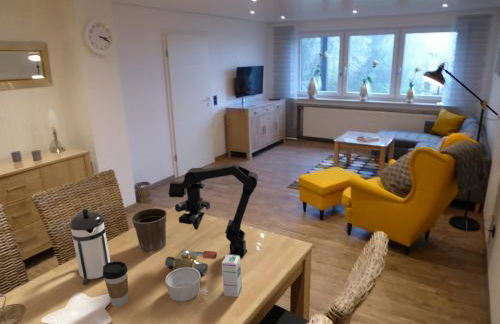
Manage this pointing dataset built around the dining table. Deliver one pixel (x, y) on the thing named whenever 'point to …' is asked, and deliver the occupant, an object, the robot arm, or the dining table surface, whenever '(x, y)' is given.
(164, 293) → the dining table surface
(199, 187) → the robot arm
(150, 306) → the dining table surface
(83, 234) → the coffee press
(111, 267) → the coffee cup
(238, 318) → the dining table surface
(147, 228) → the plant pot
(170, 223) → the dining table surface
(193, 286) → the ramekin
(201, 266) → the valve body
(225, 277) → the syrup box
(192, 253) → the valve lever
